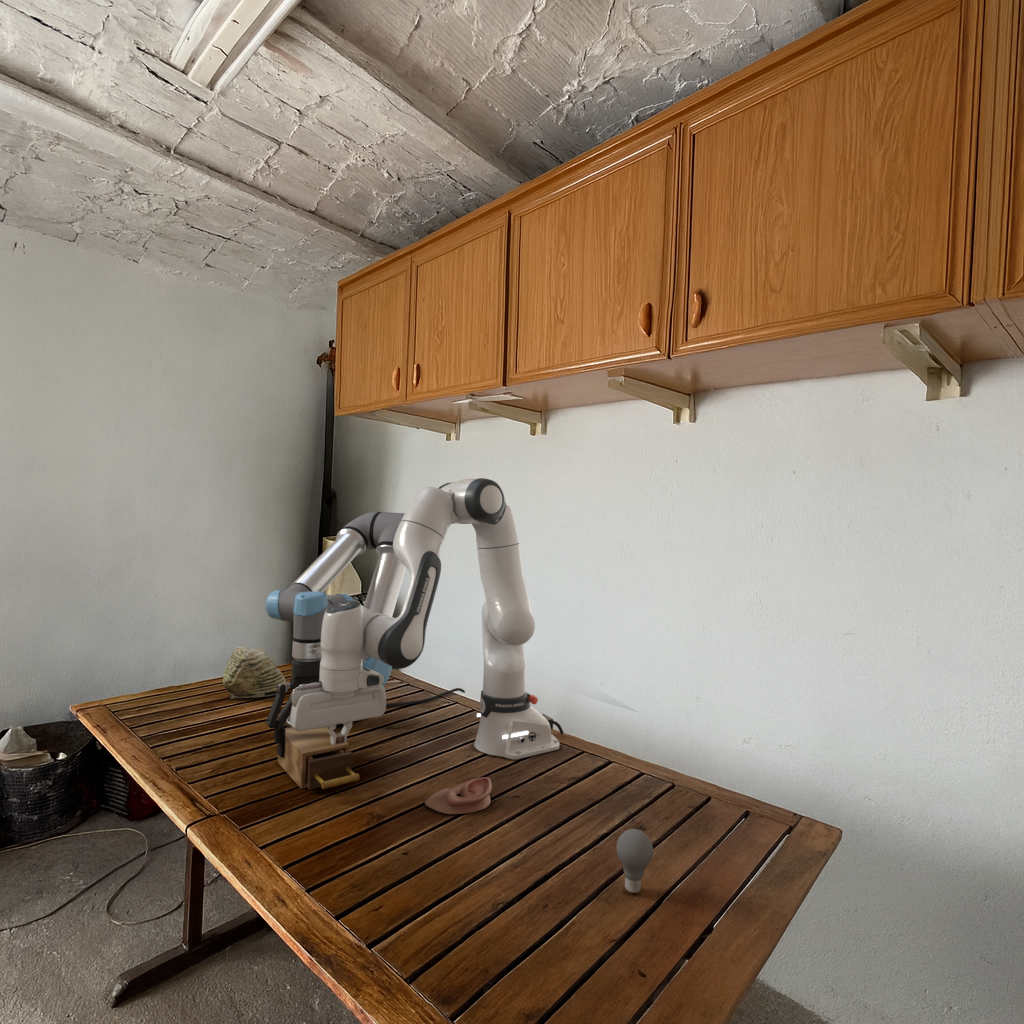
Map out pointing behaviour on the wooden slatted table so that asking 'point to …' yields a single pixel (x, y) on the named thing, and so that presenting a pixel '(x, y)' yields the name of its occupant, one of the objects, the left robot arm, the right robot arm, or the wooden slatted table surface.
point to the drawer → (329, 769)
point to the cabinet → (305, 751)
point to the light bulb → (634, 857)
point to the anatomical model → (462, 797)
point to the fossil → (251, 674)
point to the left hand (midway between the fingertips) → (305, 750)
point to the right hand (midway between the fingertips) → (338, 743)
